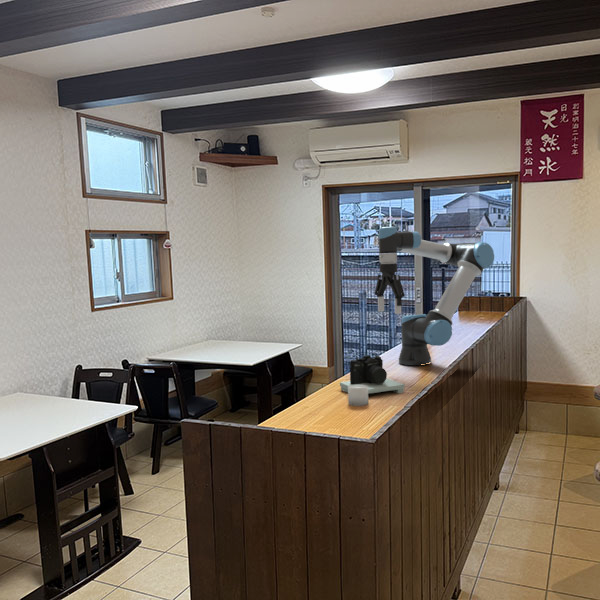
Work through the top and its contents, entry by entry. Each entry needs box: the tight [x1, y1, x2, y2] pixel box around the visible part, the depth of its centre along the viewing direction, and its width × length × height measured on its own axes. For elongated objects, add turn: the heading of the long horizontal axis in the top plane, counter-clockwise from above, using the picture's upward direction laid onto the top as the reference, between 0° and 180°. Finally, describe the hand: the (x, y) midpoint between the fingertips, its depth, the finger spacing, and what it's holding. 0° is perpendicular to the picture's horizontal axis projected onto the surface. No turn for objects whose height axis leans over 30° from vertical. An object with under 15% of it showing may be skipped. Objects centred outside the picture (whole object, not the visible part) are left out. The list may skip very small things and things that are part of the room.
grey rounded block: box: [347, 384, 369, 407], centre depth 196 cm, size 7×7×6 cm
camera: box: [349, 355, 388, 384], centre depth 213 cm, size 14×11×10 cm
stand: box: [339, 378, 406, 395], centre depth 213 cm, size 19×16×3 cm
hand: (389, 312), depth 241 cm, fingers open, 13 cm apart
